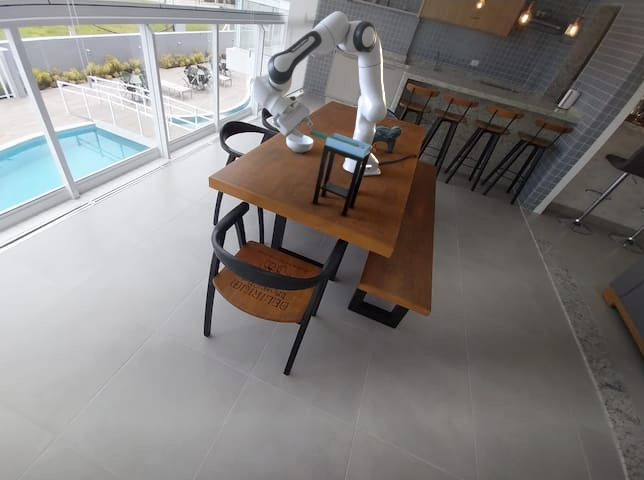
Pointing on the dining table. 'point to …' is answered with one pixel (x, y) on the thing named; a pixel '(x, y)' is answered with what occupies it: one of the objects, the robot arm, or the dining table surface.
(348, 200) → the stool
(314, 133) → the pencil
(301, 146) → the cereal bowl
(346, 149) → the tray
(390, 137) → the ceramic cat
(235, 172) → the dining table surface
